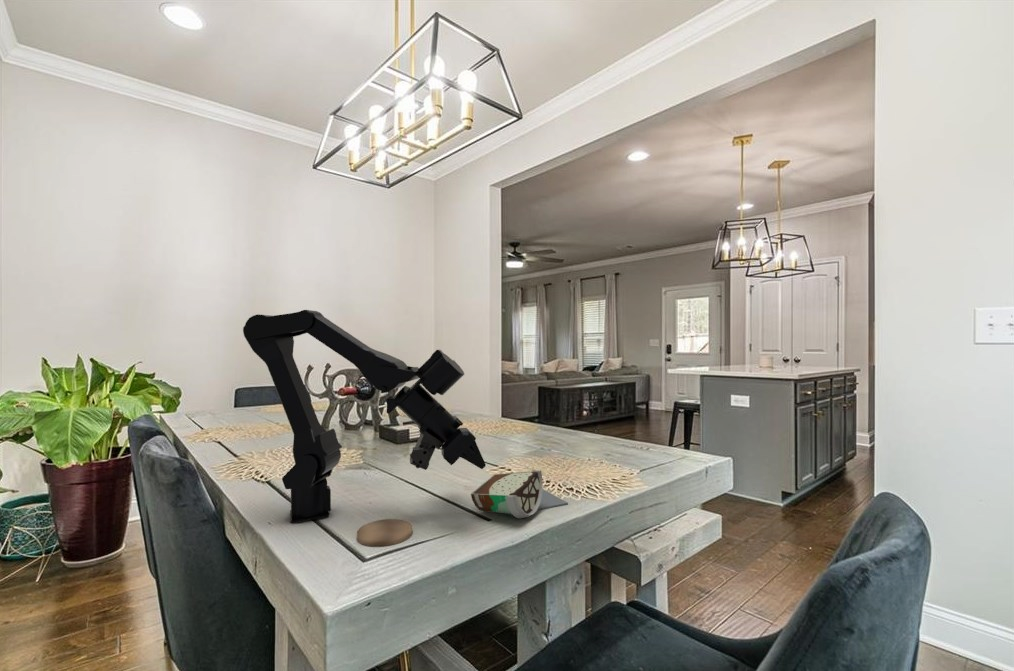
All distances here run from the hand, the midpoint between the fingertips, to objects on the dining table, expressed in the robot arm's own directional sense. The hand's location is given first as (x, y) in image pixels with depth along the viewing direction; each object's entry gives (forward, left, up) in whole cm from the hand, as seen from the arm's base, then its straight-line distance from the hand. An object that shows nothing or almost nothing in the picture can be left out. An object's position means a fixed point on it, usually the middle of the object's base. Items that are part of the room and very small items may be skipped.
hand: (483, 466), depth 90 cm
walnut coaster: (-19, -3, -8) cm, 21 cm away
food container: (0, 0, -6) cm, 6 cm away
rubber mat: (+9, +1, -8) cm, 12 cm away
